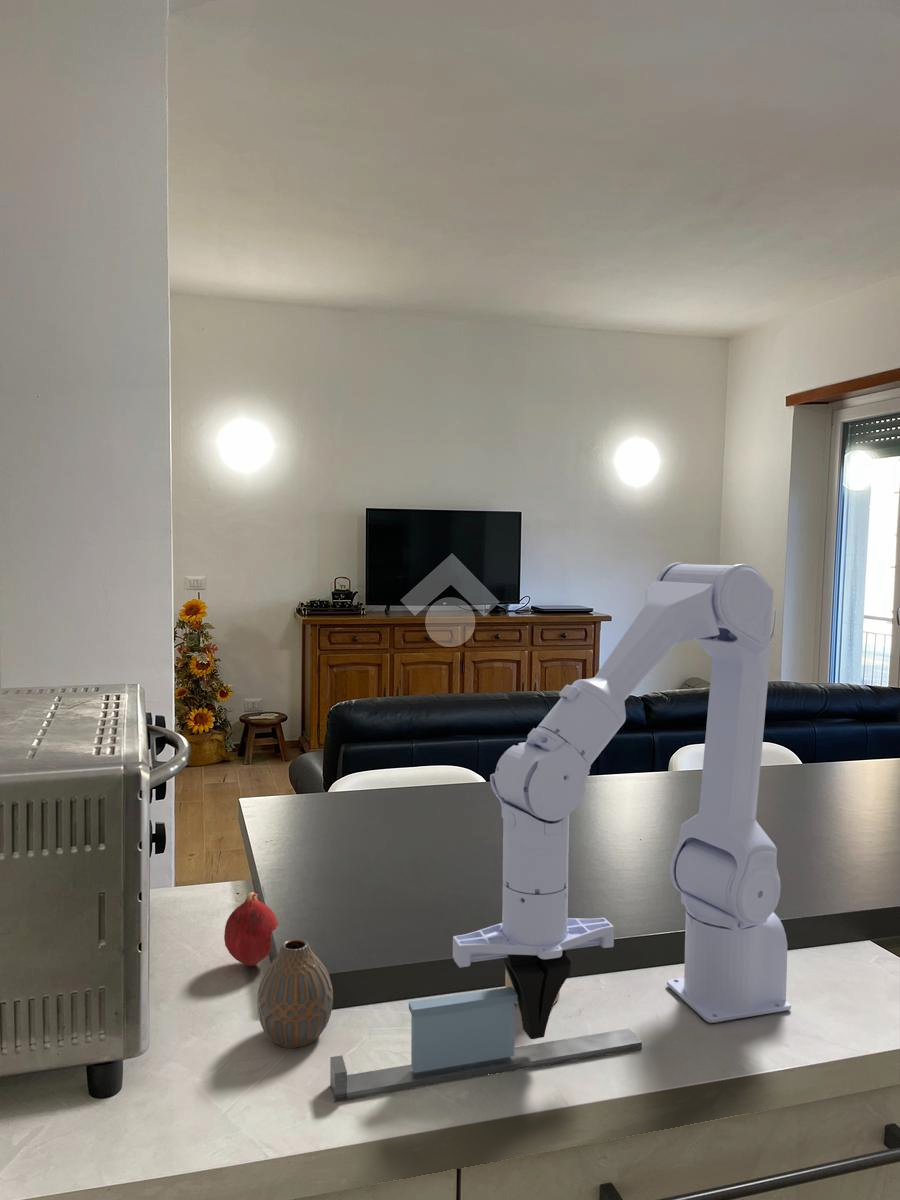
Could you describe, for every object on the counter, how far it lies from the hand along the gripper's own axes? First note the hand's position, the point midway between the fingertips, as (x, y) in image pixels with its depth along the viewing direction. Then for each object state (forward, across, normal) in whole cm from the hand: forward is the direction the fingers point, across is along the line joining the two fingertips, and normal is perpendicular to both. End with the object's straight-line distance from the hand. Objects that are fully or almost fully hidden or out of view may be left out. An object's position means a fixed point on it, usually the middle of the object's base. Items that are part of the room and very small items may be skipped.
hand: (533, 1032), depth 77 cm
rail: (+2, -4, 0) cm, 5 cm away
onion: (+3, -23, +24) cm, 34 cm away
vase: (+3, -20, +10) cm, 22 cm away
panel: (+2, -6, 0) cm, 7 cm away
